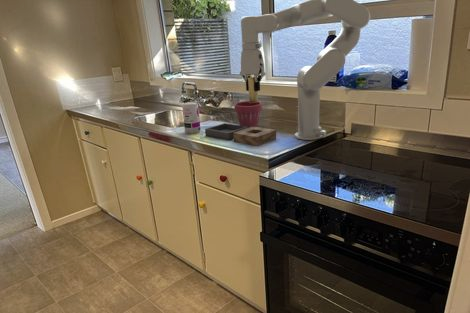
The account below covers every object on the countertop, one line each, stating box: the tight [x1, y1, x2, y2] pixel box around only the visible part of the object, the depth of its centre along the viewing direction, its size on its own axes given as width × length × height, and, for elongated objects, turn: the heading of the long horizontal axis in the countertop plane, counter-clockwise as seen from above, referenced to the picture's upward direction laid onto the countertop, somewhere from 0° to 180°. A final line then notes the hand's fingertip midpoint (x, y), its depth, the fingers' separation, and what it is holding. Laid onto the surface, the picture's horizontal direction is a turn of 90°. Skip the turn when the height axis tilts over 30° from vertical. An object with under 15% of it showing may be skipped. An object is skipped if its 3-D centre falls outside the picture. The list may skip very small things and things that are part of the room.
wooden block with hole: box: [232, 126, 277, 147], centre depth 160 cm, size 14×14×4 cm
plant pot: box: [234, 100, 263, 128], centre depth 182 cm, size 14×14×13 cm
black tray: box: [204, 122, 248, 141], centre depth 172 cm, size 16×14×4 cm
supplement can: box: [181, 101, 201, 134], centre depth 180 cm, size 8×8×15 cm
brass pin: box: [248, 76, 259, 103], centre depth 153 cm, size 4×4×11 cm
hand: (253, 90), depth 153 cm, fingers closed on brass pin, 4 cm apart
